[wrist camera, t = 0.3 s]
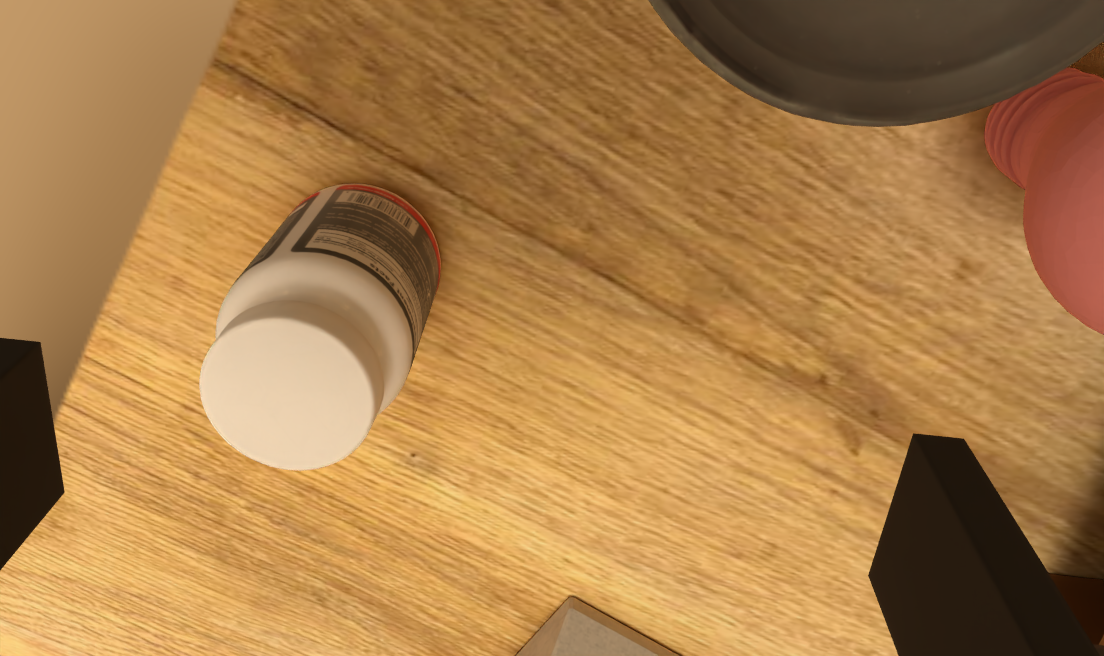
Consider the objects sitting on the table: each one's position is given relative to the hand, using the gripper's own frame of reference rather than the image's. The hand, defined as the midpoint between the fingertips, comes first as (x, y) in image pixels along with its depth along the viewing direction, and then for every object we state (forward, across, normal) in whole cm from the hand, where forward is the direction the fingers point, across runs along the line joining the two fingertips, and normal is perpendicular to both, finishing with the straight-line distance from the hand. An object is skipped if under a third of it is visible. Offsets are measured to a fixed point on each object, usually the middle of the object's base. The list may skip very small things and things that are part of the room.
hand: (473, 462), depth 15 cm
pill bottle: (+19, -6, -5) cm, 21 cm away
